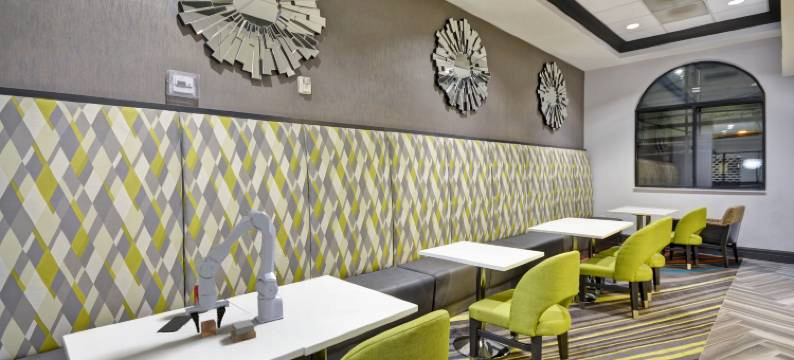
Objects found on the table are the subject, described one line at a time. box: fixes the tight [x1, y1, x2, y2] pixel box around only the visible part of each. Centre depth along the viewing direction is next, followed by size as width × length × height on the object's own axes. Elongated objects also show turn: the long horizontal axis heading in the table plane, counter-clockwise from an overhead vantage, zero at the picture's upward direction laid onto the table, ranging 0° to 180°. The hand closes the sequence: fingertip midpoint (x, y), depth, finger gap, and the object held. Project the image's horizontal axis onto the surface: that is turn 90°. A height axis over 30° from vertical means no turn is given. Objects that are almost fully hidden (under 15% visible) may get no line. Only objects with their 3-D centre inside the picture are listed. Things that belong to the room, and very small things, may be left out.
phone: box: [157, 315, 193, 333], centre depth 156 cm, size 7×1×15 cm
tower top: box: [231, 319, 255, 336], centre depth 143 cm, size 6×6×2 cm
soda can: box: [193, 282, 210, 314], centre depth 170 cm, size 6×6×12 cm
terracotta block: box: [200, 318, 218, 339], centre depth 146 cm, size 4×4×4 cm
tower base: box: [230, 329, 257, 343], centre depth 143 cm, size 7×7×2 cm
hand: (208, 329), depth 146 cm, fingers open, 6 cm apart
